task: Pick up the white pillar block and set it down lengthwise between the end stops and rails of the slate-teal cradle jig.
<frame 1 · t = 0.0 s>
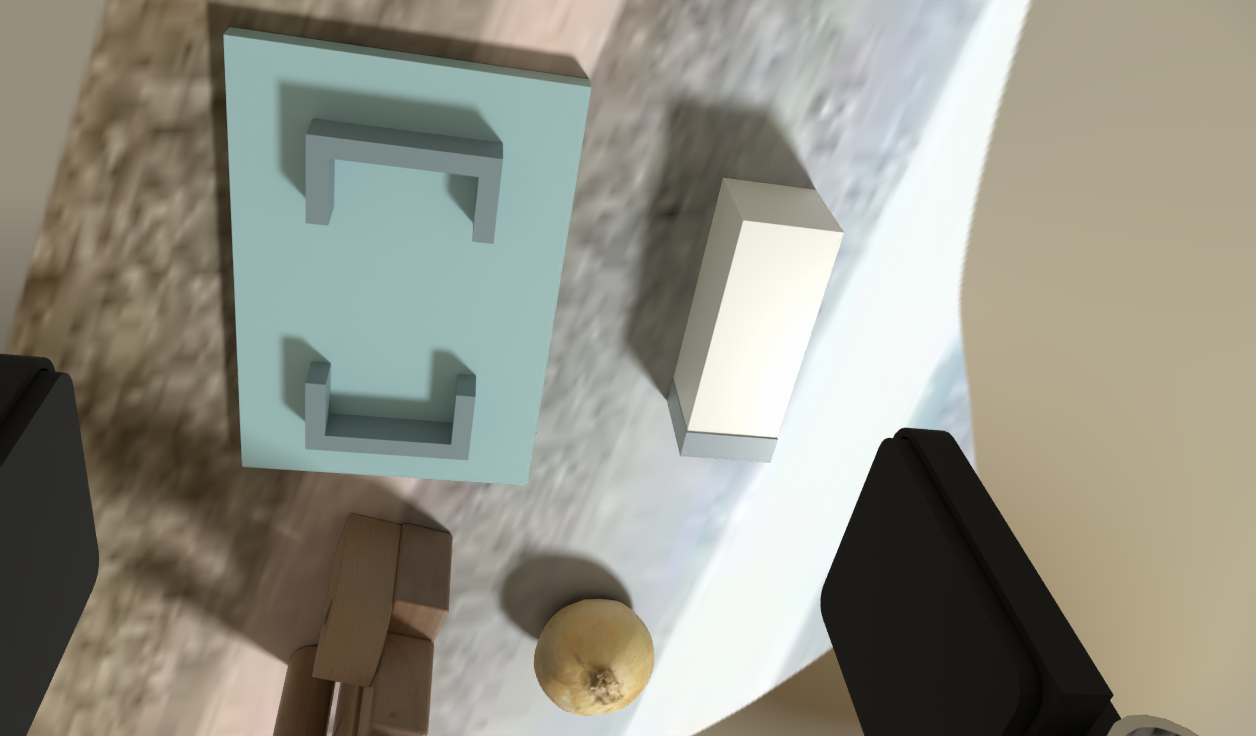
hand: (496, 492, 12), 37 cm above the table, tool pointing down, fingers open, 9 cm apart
onion: (590, 620, 67), on the table
white pillar block: (737, 301, 54), on the table
wooden toy: (366, 602, 64), on the table
cradle: (401, 284, 51), on the table
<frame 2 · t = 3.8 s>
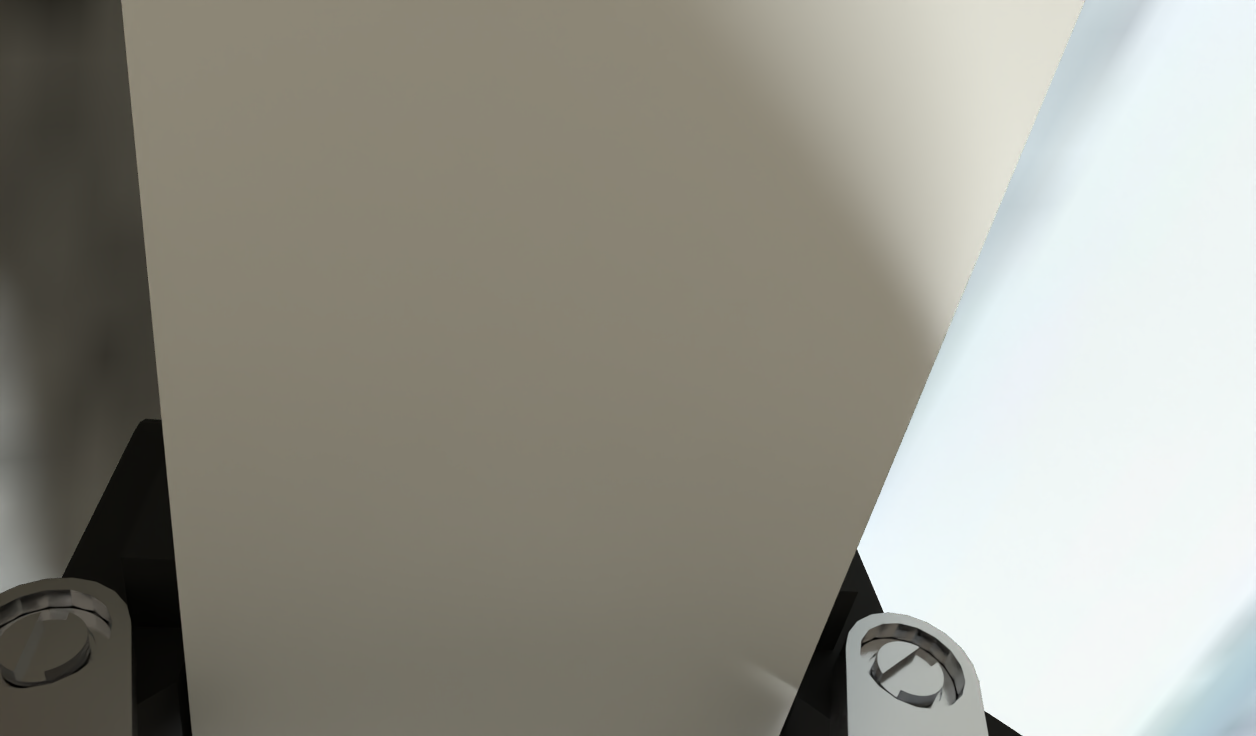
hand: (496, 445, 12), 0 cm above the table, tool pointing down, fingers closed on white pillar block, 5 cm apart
white pillar block: (496, 422, 13), on the table, touching gripper
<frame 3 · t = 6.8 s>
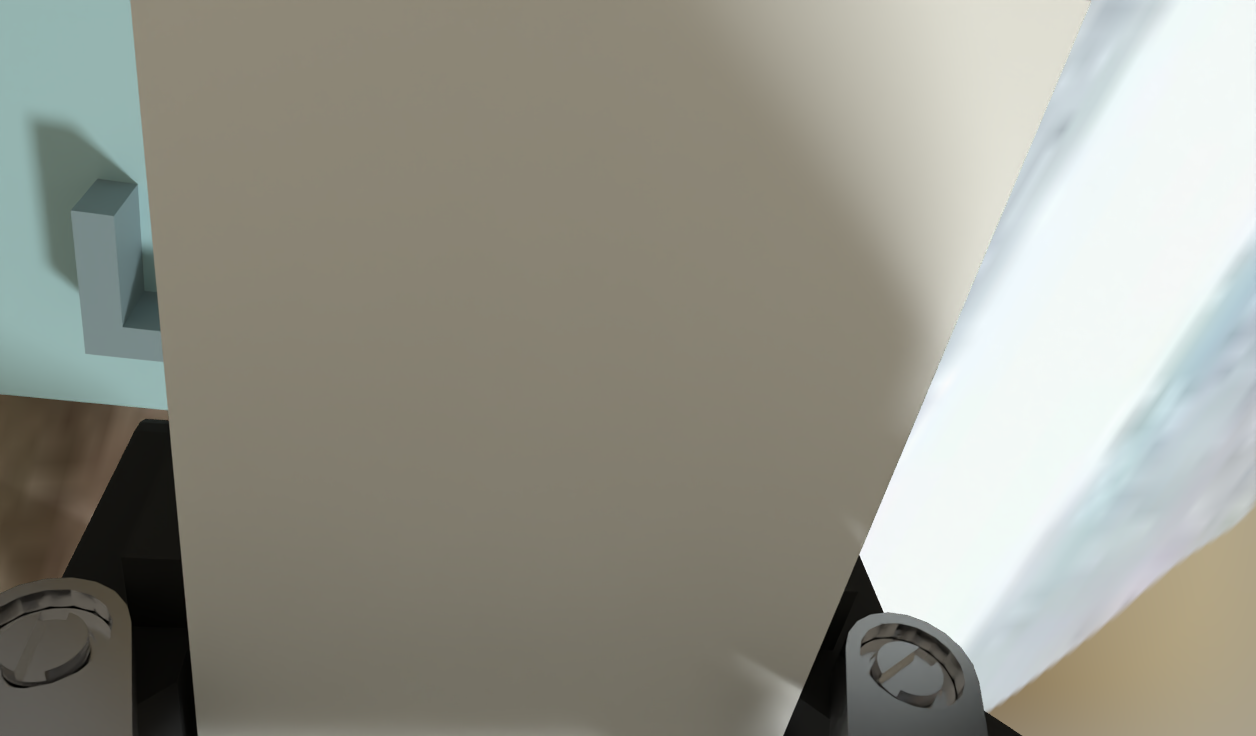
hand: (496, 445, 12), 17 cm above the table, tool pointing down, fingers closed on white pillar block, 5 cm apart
white pillar block: (498, 425, 13), point 17 cm above the table, touching gripper
cradle: (277, 25, 26), on the table
when the fingers open (3 cm above the table, at t = 9.6 s): white pillar block drops 1 cm, resting on cradle.
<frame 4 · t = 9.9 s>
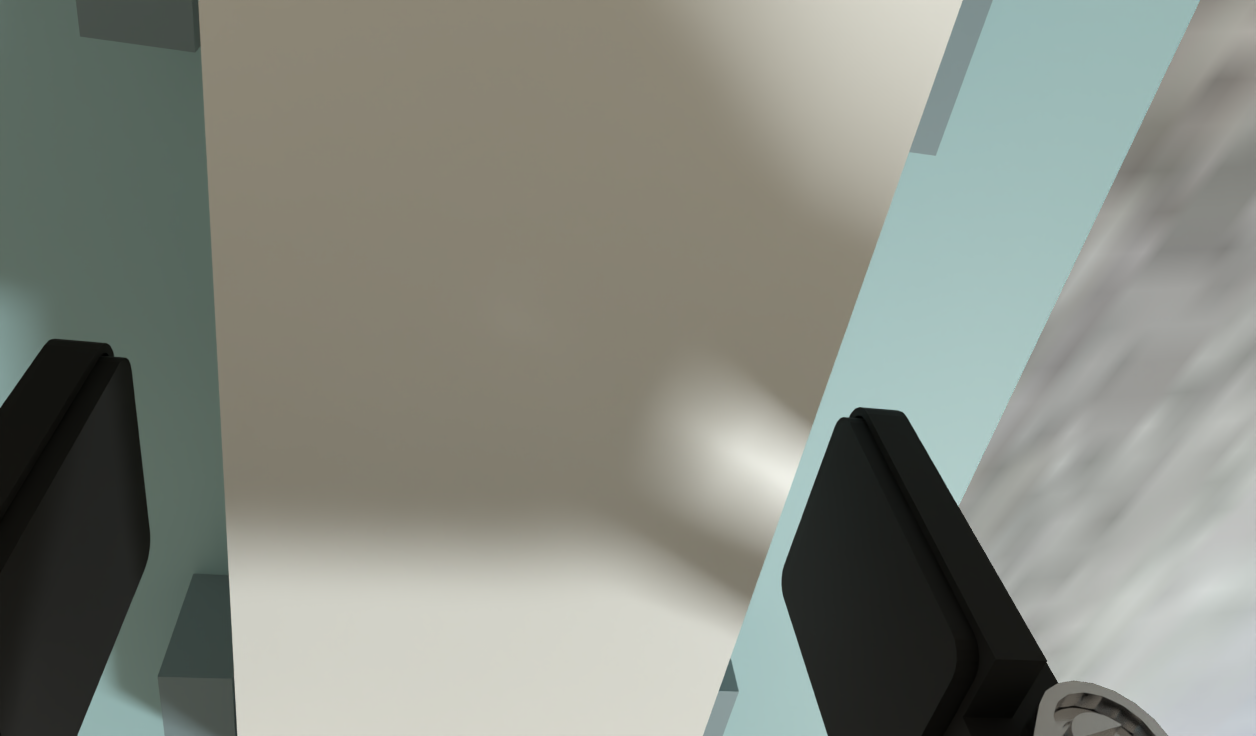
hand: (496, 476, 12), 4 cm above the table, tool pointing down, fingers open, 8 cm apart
white pillar block: (496, 358, 14), point 1 cm above the table, touching cradle
cradle: (496, 318, 15), on the table
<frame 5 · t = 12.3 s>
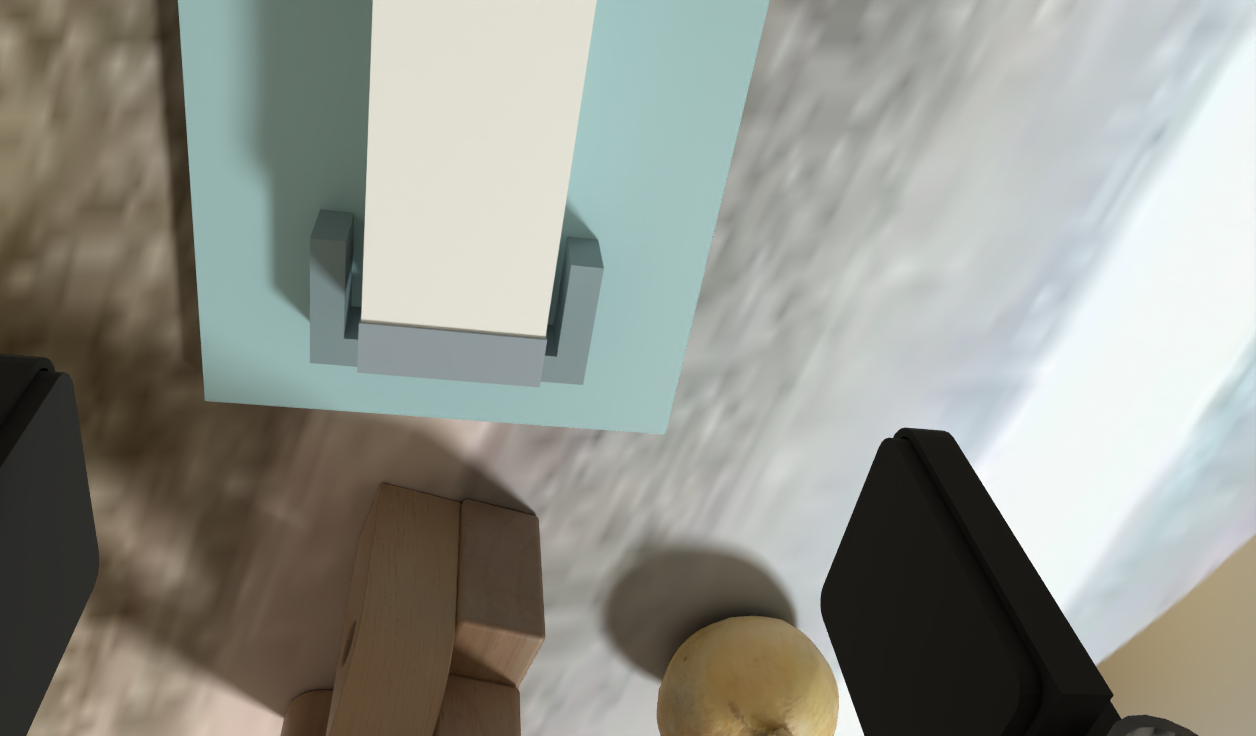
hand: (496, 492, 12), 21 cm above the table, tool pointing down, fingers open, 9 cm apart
onion: (732, 648, 45), on the table
white pillar block: (475, 81, 28), point 1 cm above the table, touching cradle
wooden toy: (402, 622, 42), on the table
cradle: (476, 70, 29), on the table
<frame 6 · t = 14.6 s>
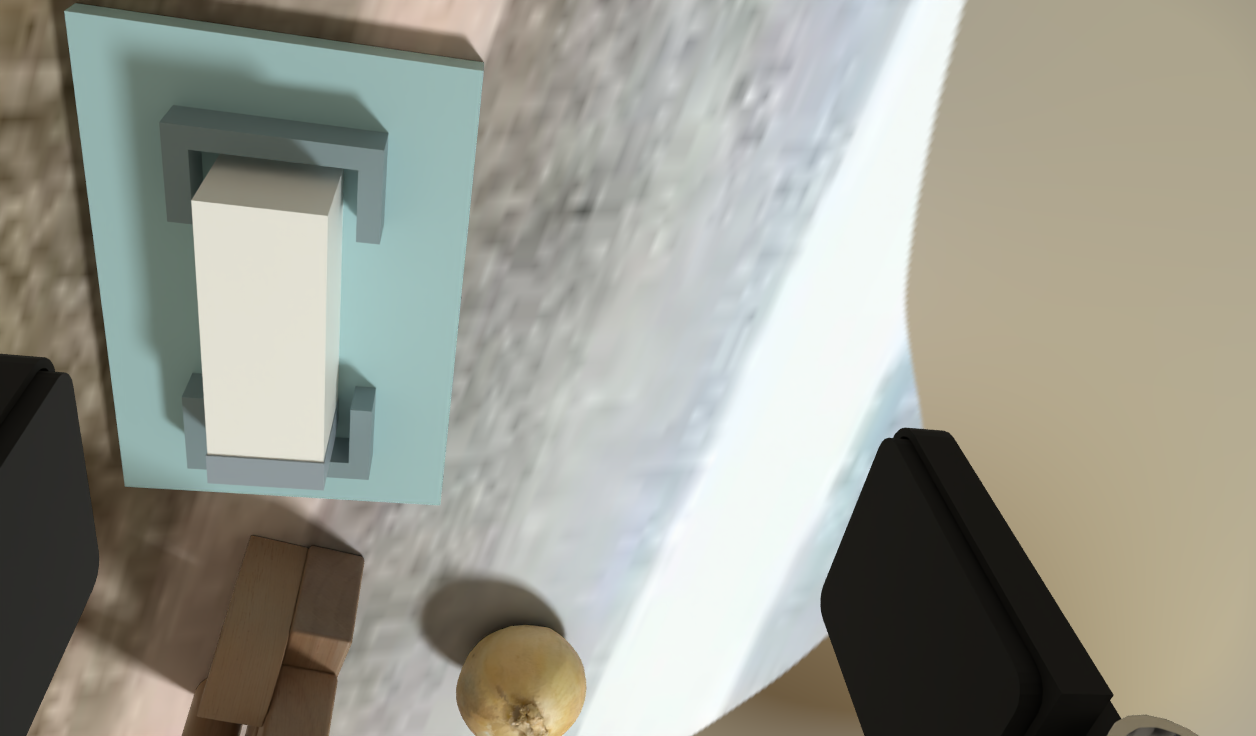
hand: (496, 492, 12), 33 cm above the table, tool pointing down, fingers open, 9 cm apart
onion: (520, 647, 63), on the table
white pillar block: (284, 300, 46), point 1 cm above the table, touching cradle
wooden toy: (275, 628, 60), on the table
cradle: (289, 288, 47), on the table
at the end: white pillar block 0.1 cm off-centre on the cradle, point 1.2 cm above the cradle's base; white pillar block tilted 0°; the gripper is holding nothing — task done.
